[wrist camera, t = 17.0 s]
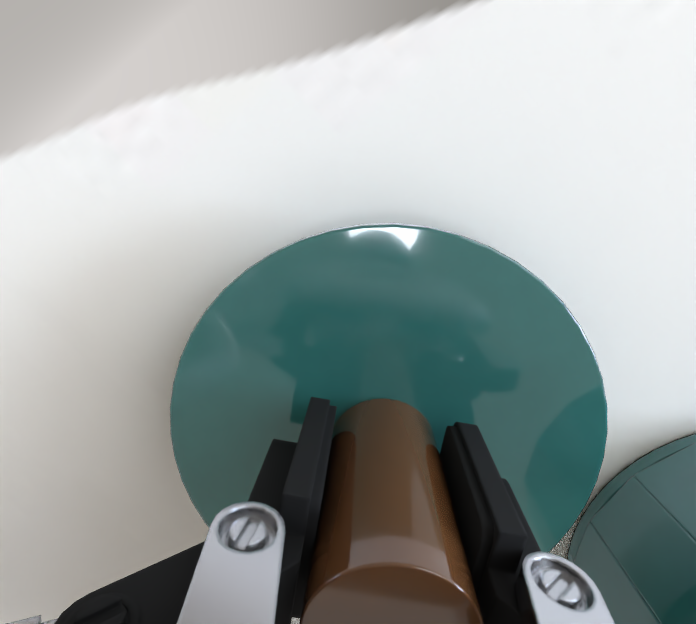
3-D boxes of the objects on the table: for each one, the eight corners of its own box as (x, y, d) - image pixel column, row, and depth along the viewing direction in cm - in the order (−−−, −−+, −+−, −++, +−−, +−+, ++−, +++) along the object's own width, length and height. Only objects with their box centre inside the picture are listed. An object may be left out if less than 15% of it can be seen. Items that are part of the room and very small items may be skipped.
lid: (176, 547, 15) (30, 813, 9) (199, 186, 12) (-15, 177, 5) (524, 608, 15) (639, 923, 8) (647, 262, 12) (995, 347, 5)
